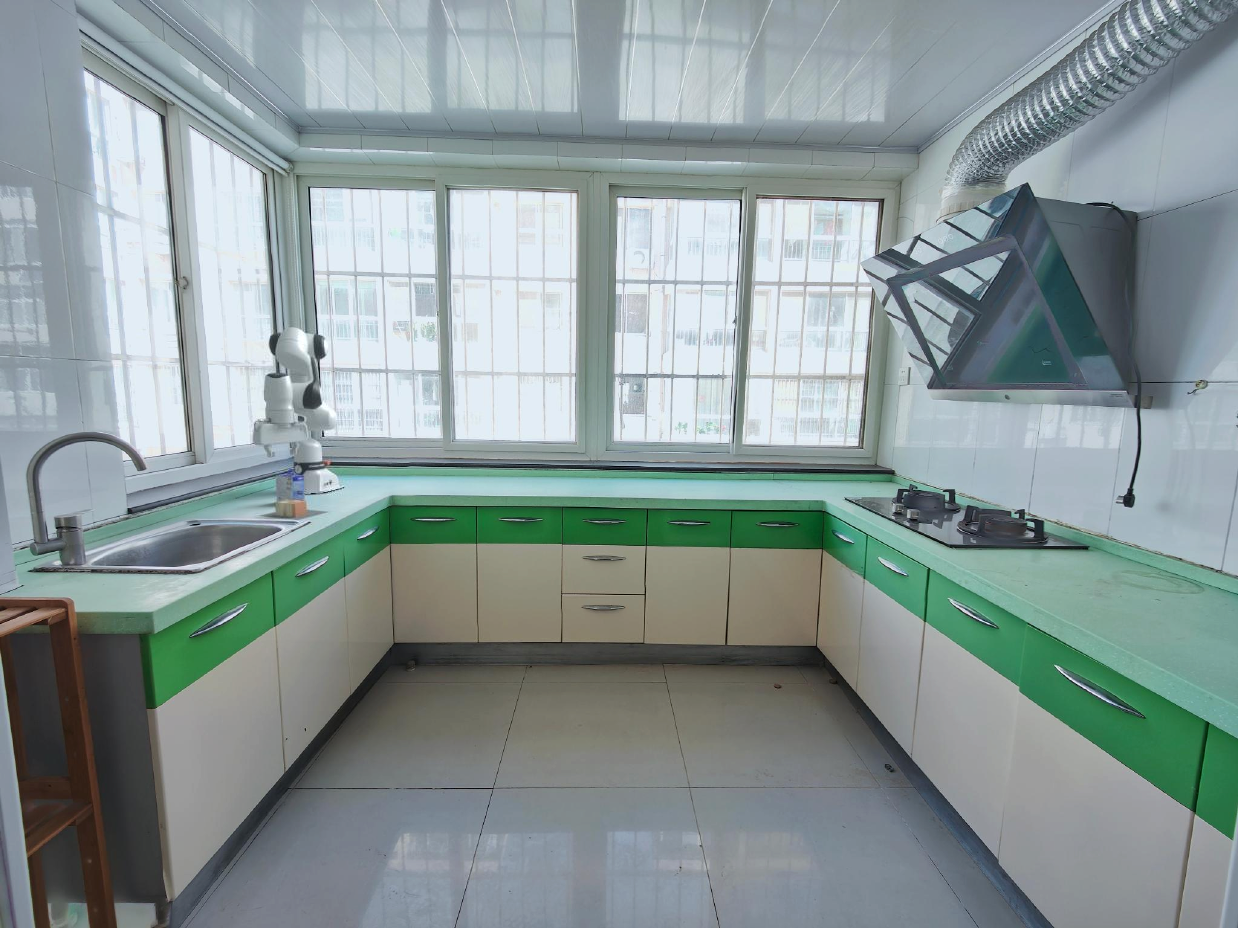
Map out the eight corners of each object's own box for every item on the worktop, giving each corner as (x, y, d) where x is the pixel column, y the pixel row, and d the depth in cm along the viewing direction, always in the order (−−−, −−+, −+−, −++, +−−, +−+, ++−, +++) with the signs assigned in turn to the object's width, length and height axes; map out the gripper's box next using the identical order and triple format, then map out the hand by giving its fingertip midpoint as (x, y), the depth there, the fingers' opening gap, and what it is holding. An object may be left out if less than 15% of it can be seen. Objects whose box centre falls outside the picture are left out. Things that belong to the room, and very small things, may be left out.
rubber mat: (292, 509, 210) (291, 508, 210) (329, 513, 205) (329, 511, 205) (259, 516, 197) (259, 515, 197) (298, 521, 192) (298, 519, 192)
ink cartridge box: (306, 504, 220) (304, 469, 218) (293, 506, 215) (291, 471, 213) (288, 502, 223) (286, 467, 221) (276, 504, 218) (273, 469, 216)
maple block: (286, 499, 202) (306, 501, 200) (287, 512, 203) (306, 514, 200) (274, 502, 197) (294, 503, 195) (275, 515, 198) (295, 517, 196)
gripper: (260, 419, 184) (263, 459, 186) (310, 417, 204) (312, 453, 206) (246, 418, 186) (249, 458, 188) (296, 416, 205) (298, 452, 207)
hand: (282, 455), depth 197 cm, fingers open, 8 cm apart
